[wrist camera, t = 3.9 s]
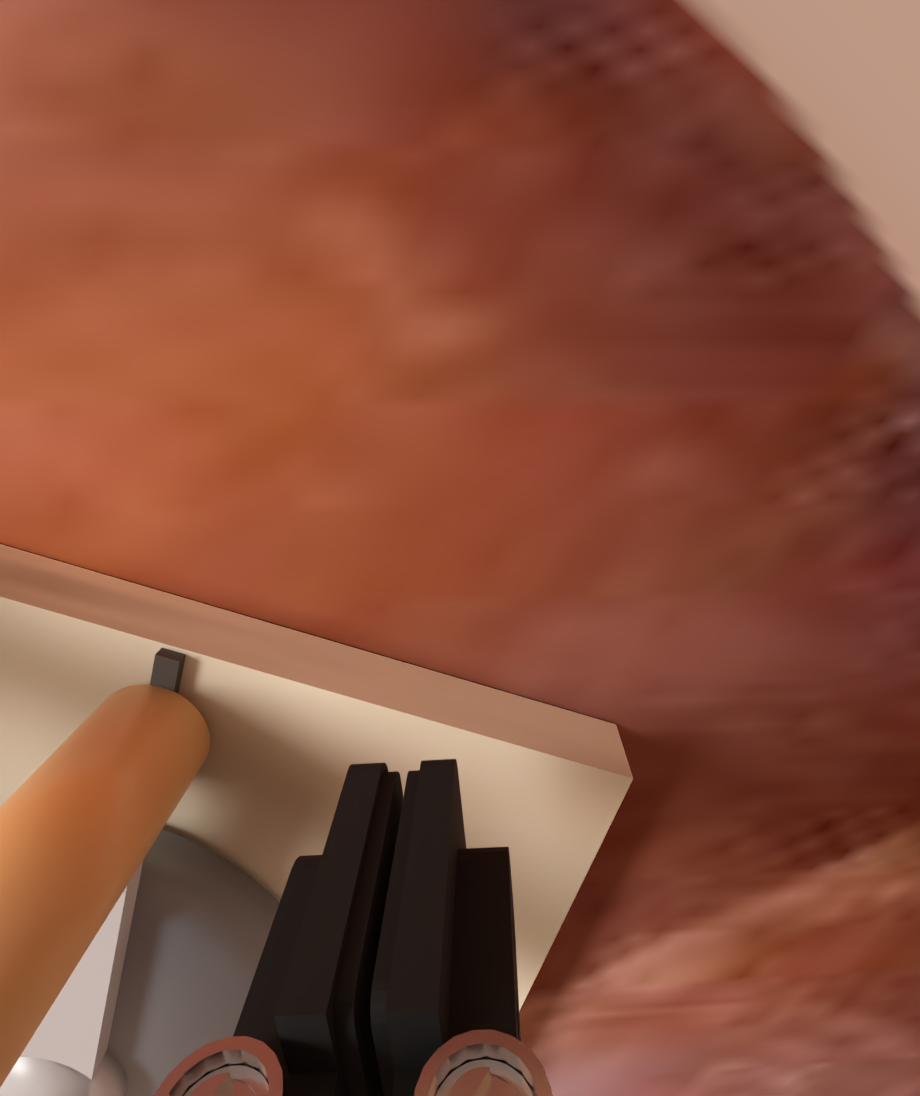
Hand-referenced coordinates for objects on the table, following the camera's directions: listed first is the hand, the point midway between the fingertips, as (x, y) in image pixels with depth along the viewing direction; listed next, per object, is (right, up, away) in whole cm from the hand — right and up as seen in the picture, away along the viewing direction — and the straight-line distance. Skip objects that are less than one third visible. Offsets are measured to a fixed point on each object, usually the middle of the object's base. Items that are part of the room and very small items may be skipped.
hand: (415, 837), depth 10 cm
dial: (-8, -5, +6) cm, 11 cm away
